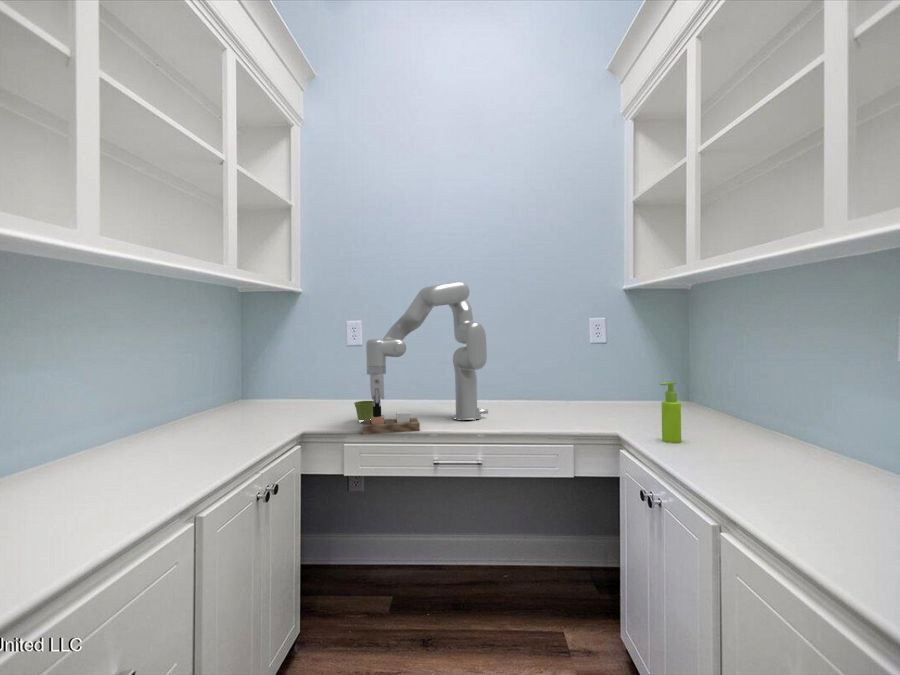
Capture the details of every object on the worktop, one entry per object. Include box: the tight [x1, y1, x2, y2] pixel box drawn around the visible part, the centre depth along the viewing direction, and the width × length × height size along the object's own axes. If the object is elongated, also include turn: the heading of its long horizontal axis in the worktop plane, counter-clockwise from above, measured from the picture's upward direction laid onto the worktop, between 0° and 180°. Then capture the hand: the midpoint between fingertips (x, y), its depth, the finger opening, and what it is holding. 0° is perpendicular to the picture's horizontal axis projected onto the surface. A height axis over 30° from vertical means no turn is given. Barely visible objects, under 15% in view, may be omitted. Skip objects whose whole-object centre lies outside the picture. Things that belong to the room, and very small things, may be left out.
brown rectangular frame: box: [361, 417, 421, 435], centre depth 183 cm, size 22×12×3 cm, turn 100°
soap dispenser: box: [659, 381, 682, 444], centre depth 155 cm, size 6×7×20 cm
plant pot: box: [353, 400, 374, 420], centre depth 199 cm, size 9×9×9 cm
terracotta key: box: [371, 414, 385, 424], centre depth 182 cm, size 5×5×4 cm
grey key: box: [395, 410, 411, 423], centre depth 184 cm, size 5×5×4 cm
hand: (377, 416), depth 182 cm, fingers closed
